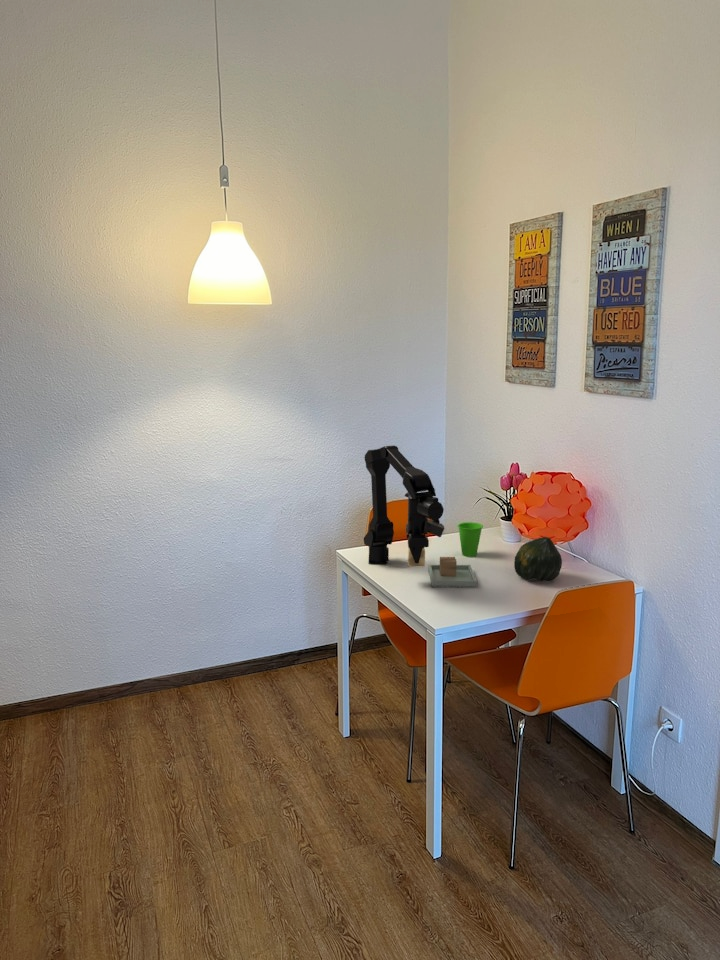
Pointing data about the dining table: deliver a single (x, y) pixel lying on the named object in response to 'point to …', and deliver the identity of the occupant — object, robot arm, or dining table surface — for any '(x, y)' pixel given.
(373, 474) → the robot arm
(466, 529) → the cup
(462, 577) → the tray
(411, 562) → the oak block
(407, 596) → the dining table surface
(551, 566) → the squash
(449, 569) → the walnut block
